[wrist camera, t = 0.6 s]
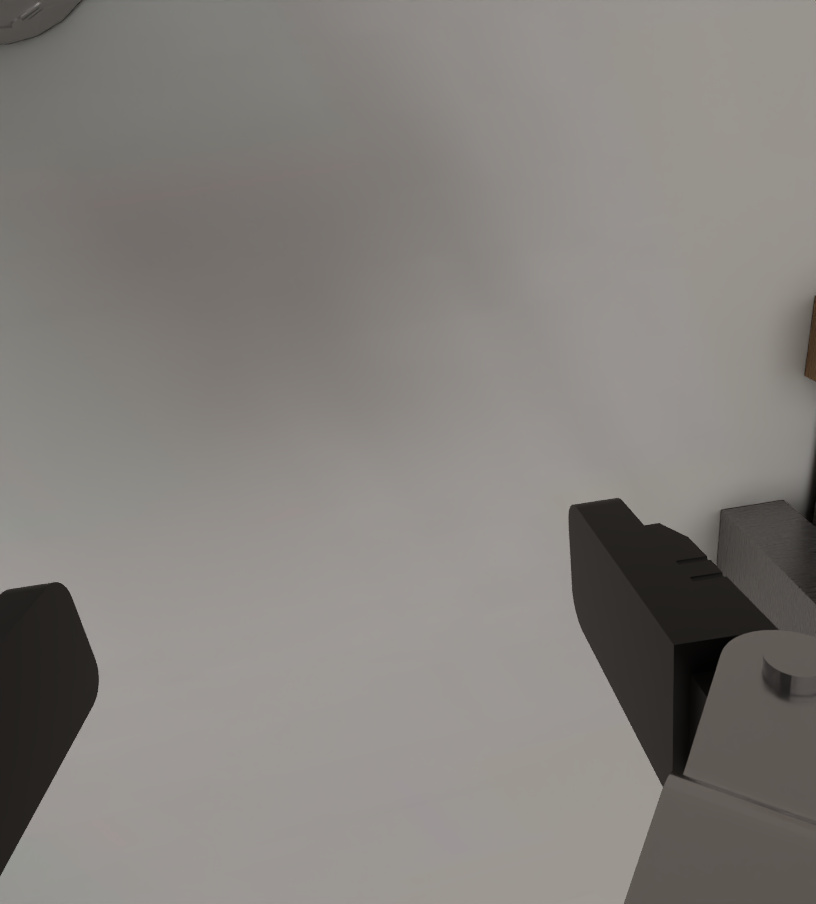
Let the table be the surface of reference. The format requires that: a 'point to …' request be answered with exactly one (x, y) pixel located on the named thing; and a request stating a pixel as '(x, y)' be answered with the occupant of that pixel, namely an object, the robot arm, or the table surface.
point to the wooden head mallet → (812, 366)
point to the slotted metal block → (772, 562)
